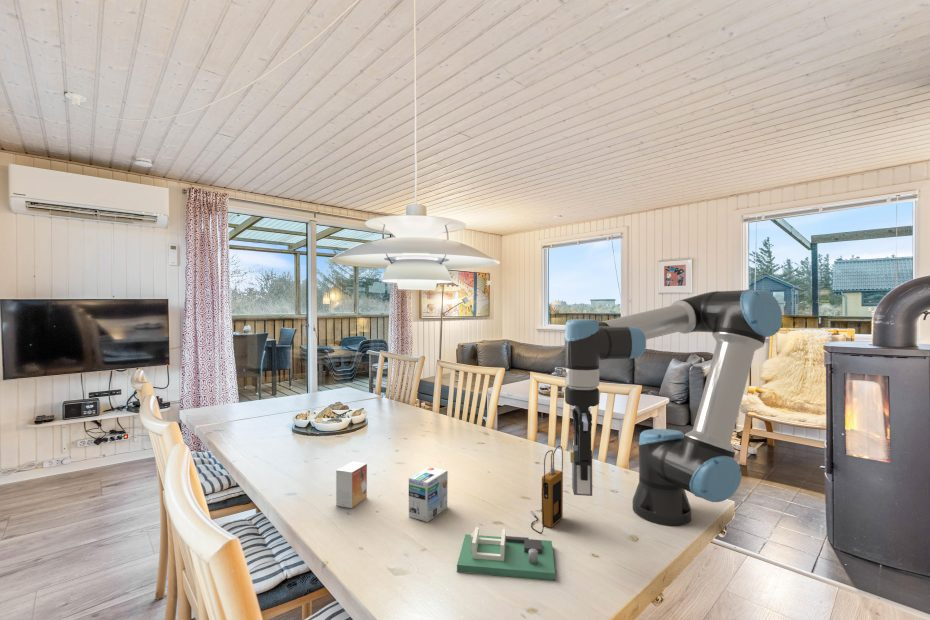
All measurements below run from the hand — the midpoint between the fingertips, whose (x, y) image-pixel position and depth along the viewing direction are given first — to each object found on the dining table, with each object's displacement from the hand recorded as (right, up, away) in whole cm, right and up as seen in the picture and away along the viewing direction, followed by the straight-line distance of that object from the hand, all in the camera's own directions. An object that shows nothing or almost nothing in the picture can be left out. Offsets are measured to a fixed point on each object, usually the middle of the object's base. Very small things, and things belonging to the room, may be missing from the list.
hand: (582, 488), depth 100 cm
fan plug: (0, -1, 0) cm, 1 cm away
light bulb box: (-37, -16, +24) cm, 47 cm away
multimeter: (-6, -17, +20) cm, 26 cm away
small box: (-60, -16, +30) cm, 69 cm away
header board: (-17, -16, 0) cm, 24 cm away
